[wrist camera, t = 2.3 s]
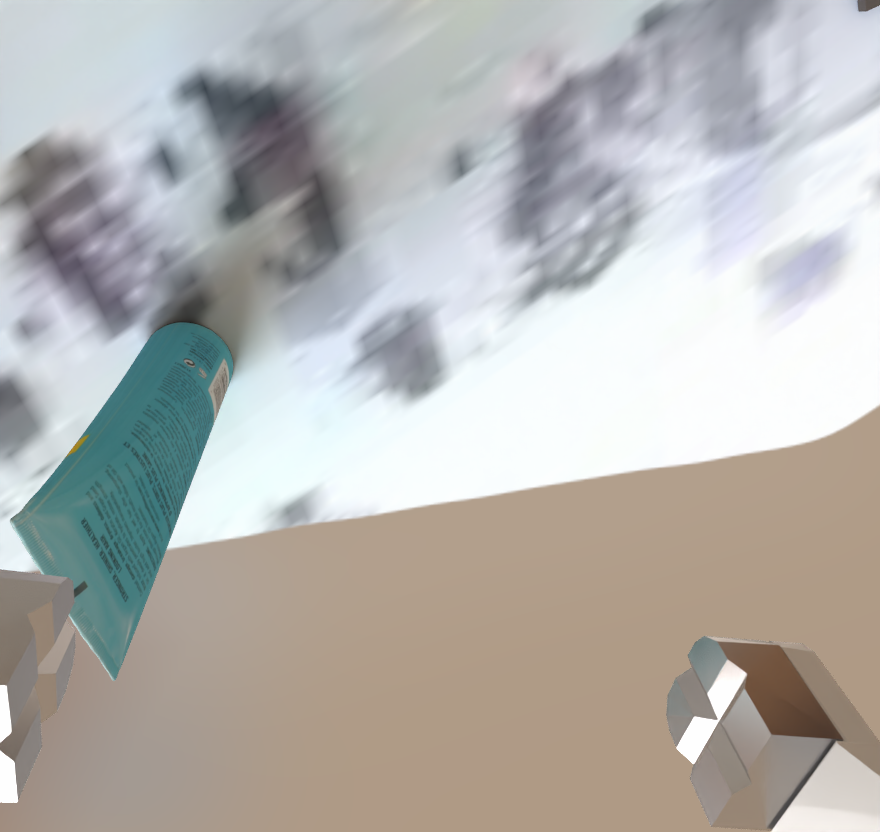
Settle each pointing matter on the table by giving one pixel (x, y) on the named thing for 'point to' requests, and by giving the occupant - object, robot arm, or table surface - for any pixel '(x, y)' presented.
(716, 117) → the table surface
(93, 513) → the tube
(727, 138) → the table surface
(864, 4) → the mat
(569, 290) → the table surface
